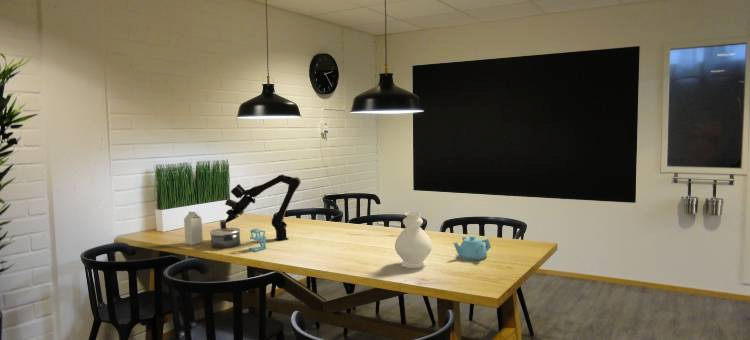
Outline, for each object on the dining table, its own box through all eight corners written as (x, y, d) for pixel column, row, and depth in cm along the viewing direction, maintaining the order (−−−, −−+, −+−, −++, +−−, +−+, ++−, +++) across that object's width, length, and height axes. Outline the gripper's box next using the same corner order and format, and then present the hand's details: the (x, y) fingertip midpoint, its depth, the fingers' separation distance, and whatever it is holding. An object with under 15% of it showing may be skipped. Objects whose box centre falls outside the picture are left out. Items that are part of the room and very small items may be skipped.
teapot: (482, 262, 254) (482, 240, 253) (453, 259, 261) (452, 238, 260) (491, 255, 268) (491, 234, 267) (463, 252, 275) (462, 232, 274)
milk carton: (192, 245, 309) (190, 213, 307) (185, 243, 313) (183, 212, 312) (202, 243, 315) (201, 211, 313) (195, 241, 319) (194, 210, 317)
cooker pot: (243, 247, 300) (242, 235, 299) (214, 251, 293) (213, 238, 293) (235, 238, 323) (235, 227, 323) (208, 242, 317) (207, 230, 316)
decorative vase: (440, 265, 252) (439, 213, 250) (411, 271, 242) (409, 217, 240) (416, 257, 267) (415, 208, 264) (387, 264, 256) (386, 213, 254)
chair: (268, 249, 294) (268, 228, 293) (255, 252, 288) (255, 230, 287) (261, 247, 299) (260, 226, 298) (248, 250, 294) (247, 228, 293)
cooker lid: (242, 234, 301) (241, 225, 301) (211, 237, 295) (211, 228, 294) (236, 227, 323) (236, 218, 322) (208, 229, 316) (207, 221, 316)
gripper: (237, 192, 325) (220, 210, 327) (228, 196, 307) (210, 215, 308) (251, 204, 326) (234, 222, 327) (242, 209, 307) (225, 228, 308)
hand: (225, 222), depth 318 cm, fingers closed
